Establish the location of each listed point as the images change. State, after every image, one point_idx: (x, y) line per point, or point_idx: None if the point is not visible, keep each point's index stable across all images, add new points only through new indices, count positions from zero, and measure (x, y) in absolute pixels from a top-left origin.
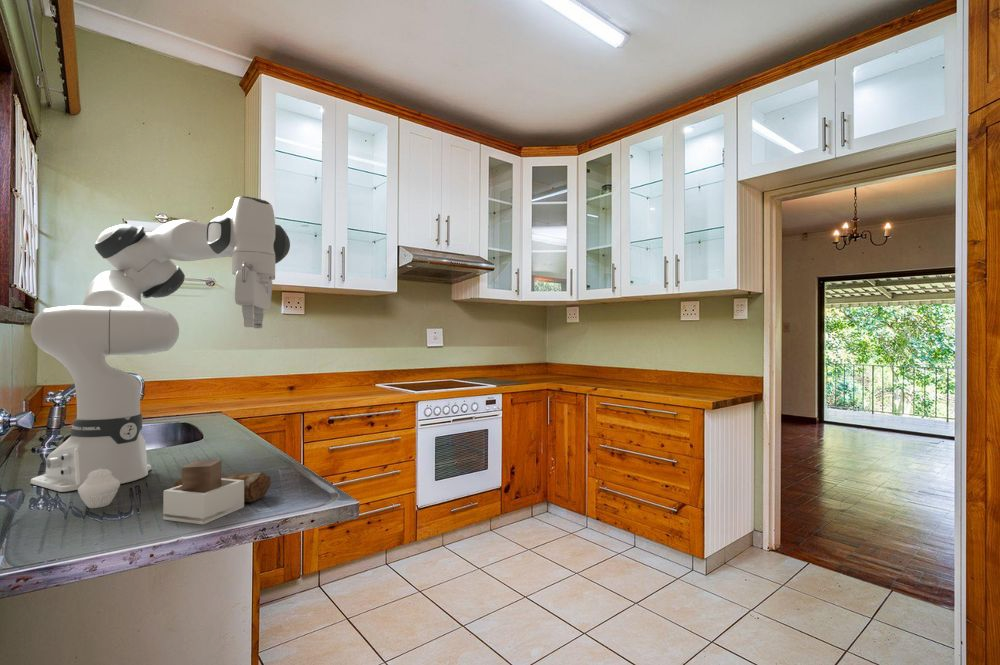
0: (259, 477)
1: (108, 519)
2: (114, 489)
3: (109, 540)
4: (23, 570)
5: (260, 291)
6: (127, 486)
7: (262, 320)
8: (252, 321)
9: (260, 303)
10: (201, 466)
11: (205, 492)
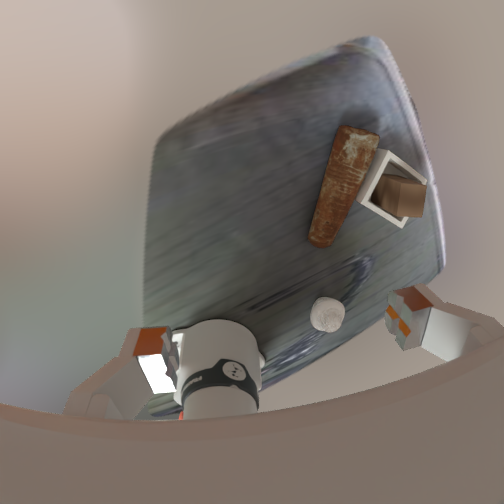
0: (376, 134)
1: (369, 270)
2: (332, 299)
3: (419, 239)
4: (445, 262)
5: (490, 488)
6: (251, 317)
7: (125, 358)
8: (436, 297)
9: (443, 383)
10: (424, 196)
11: (421, 181)
